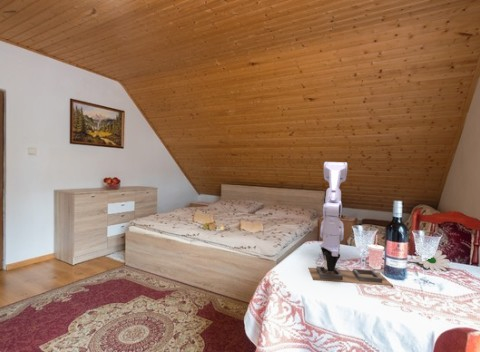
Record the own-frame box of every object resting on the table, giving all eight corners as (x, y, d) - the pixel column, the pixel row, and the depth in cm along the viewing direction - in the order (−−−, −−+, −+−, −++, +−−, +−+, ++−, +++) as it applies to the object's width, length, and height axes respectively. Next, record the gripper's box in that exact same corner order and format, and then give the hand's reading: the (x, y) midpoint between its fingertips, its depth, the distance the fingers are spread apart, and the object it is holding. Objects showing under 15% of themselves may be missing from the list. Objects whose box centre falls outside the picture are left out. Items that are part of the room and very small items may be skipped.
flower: (370, 243, 132) (445, 244, 121) (370, 250, 135) (443, 253, 124) (374, 265, 122) (455, 269, 111) (374, 273, 124) (453, 278, 114)
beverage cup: (372, 263, 121) (374, 232, 120) (385, 268, 116) (388, 235, 115) (363, 266, 117) (365, 233, 117) (377, 271, 112) (379, 237, 112)
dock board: (307, 268, 112) (308, 264, 112) (379, 273, 110) (379, 268, 110) (313, 281, 100) (313, 276, 100) (393, 287, 98) (393, 281, 98)
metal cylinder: (322, 272, 108) (323, 253, 107) (332, 273, 107) (334, 254, 107) (324, 276, 104) (325, 257, 103) (335, 277, 103) (336, 257, 103)
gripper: (316, 228, 112) (315, 261, 113) (324, 238, 98) (322, 275, 99) (334, 229, 112) (332, 262, 112) (344, 239, 97) (342, 277, 98)
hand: (329, 268), depth 105 cm, fingers closed on metal cylinder, 4 cm apart
